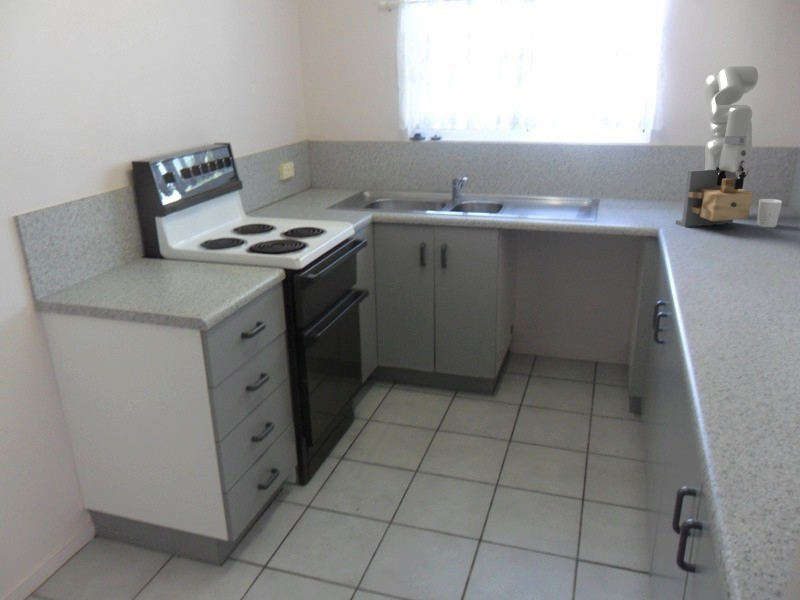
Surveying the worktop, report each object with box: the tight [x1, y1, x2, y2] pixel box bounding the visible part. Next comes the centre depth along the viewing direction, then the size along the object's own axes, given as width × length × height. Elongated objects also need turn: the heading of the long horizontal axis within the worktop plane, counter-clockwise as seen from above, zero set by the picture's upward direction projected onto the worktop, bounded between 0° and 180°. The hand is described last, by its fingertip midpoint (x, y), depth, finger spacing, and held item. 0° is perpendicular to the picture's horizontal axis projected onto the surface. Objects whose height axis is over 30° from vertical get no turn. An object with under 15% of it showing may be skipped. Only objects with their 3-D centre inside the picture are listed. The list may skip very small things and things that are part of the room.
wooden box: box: [699, 178, 754, 221], centre depth 253 cm, size 12×16×15 cm
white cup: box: [756, 198, 783, 228], centre depth 259 cm, size 8×8×10 cm
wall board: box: [675, 168, 741, 228], centre depth 261 cm, size 10×22×22 cm, turn 103°
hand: (729, 187), depth 250 cm, fingers open, 9 cm apart
